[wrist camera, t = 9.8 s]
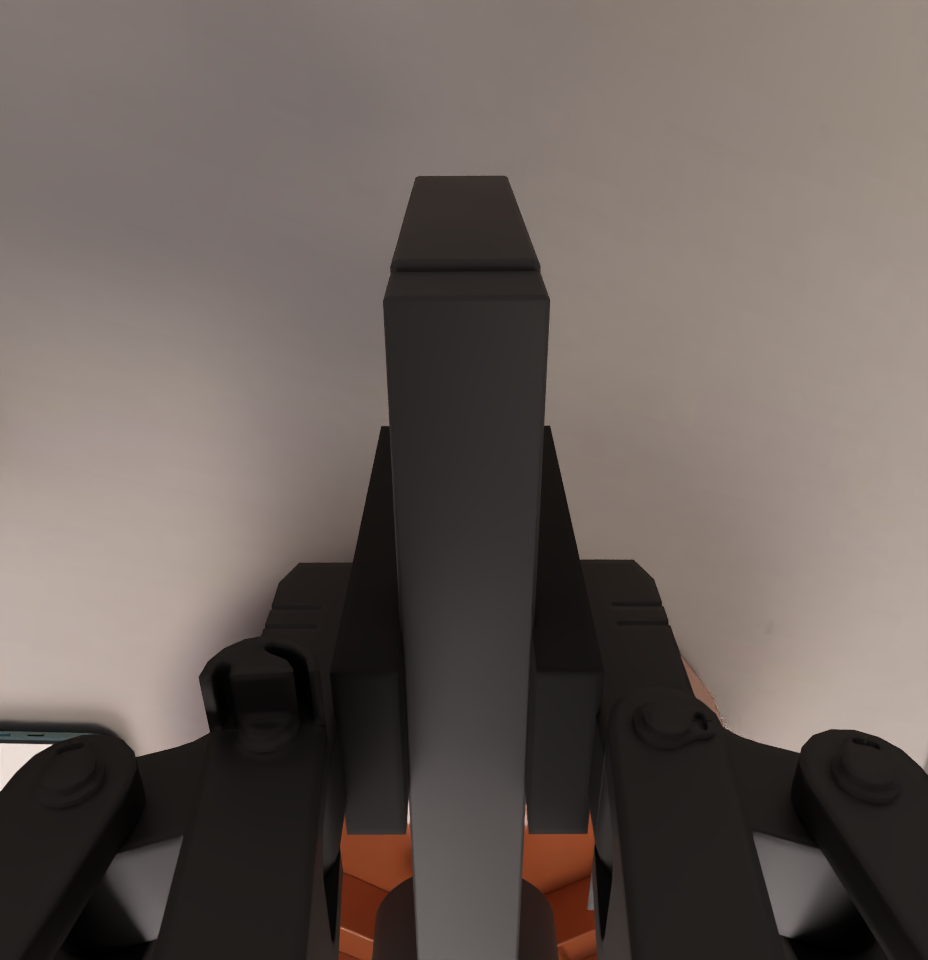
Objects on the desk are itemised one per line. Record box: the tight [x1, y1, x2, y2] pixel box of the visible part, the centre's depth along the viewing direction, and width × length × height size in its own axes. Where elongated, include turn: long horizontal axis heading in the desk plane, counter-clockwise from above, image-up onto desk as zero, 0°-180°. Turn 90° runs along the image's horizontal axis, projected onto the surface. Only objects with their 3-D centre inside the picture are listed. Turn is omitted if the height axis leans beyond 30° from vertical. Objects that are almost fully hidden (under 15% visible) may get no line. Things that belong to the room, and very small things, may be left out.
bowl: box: [338, 656, 724, 960], centre depth 27 cm, size 17×17×5 cm
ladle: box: [372, 176, 559, 960], centre depth 16 cm, size 23×5×7 cm, turn 0°
